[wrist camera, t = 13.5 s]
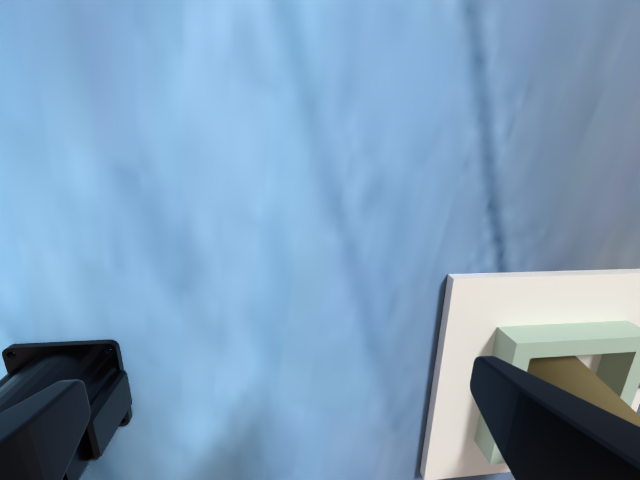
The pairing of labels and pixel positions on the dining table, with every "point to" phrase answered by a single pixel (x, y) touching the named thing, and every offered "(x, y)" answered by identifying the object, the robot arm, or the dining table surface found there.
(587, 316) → the dock plate
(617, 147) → the dining table surface
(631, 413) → the cork
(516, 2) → the dining table surface
